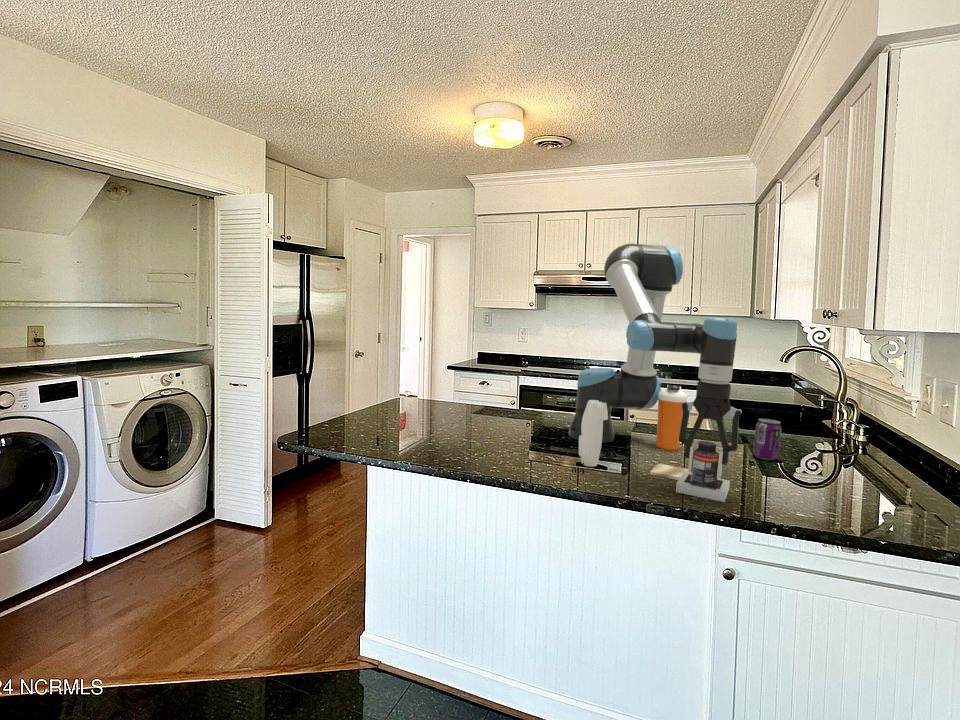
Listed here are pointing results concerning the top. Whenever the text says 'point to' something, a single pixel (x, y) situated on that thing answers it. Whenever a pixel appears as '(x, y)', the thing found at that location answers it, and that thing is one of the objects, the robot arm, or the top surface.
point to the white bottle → (592, 432)
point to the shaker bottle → (670, 417)
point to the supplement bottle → (705, 465)
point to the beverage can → (767, 439)
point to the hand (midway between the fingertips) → (704, 473)
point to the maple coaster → (668, 471)
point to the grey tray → (703, 488)
